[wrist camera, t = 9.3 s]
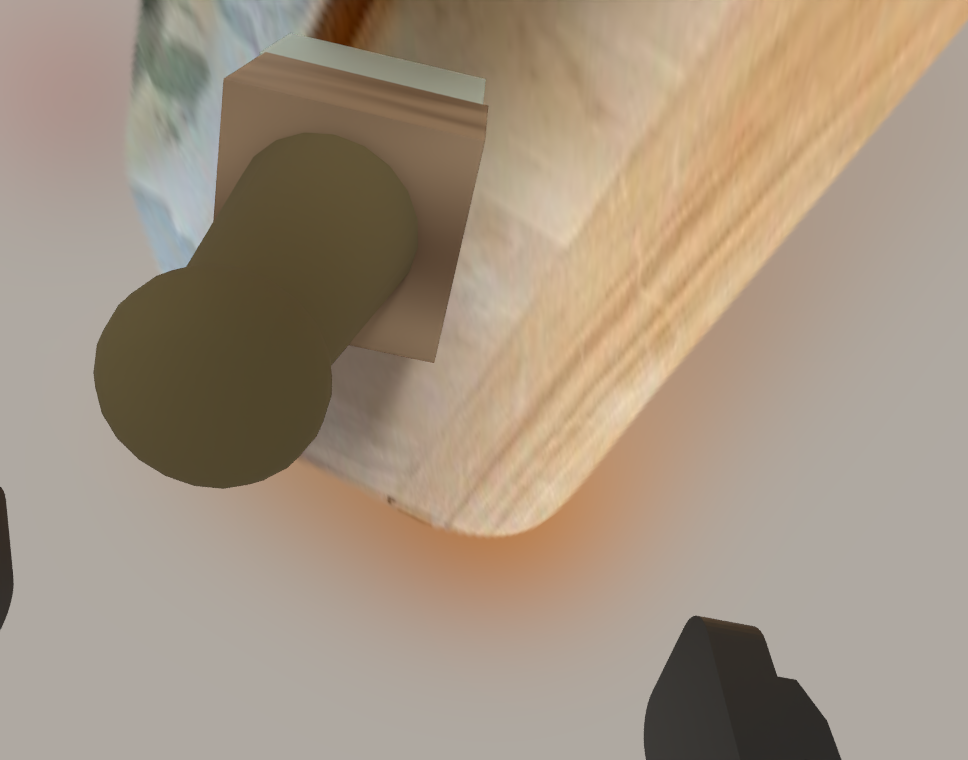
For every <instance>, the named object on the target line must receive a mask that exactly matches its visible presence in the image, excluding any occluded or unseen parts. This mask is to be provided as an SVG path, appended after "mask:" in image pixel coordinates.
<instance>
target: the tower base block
mask: <svg viewBox="0 0 968 760" xmlns="http://www.w3.org/2000/svg"><path fill="white" fill-rule="evenodd" d="M264 52H268V53H272V54H276V55H281V56H285V57H289V58H293V59H297V60H301V61H305V62H309V63H314V64H318V65H322V66H326V67H330V68H334V69H338V70H342V71H347V72H351V73H355V74H359V75H363V76H367V77H371V78H376V79H380V80H384V81H388V82H392V83H396V84H400V85H404V86H409V87H413V88H417V89H421V90H425V91H429V92H433V93H437V94H442V95H446V96H450V97H454V98H458V99H462V100H466V101H470V102H475V103H479V104H483V99H484V91H485V82H486V79H484V78H480V77H476V76H471V75H467V74H463V73H459V72H454V71H450V70H446V69H442V68H438V67H433V66H429V65H425V64H421V63H416V62H412V61H408V60H404V59H399V58H395V57H391V56H387V55H383V54H378V53H374V52H370V51H366V50H361V49H357V48H353V47H349V46H344V45H340V44H336V43H332V42H327V41H323V40H319V39H315V38H311V37H306V36H302V35H298V34H294V33H290V34H288V35H287V36H285V37H283V38H282V39H280V40H279V41H277V42H276V43H274V44H272V45H271V46H269V47H268V48H266V49H265V50H263V51H261V52H260V55H261V54H263V53H264ZM260 55H259V56H260Z"/></svg>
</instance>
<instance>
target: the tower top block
mask: <svg viewBox="0 0 968 760" xmlns="http://www.w3.org/2000/svg"><path fill="white" fill-rule="evenodd" d="M487 113H488V106H487V105H483V104H479V103H475V102H470V101H466V100H462V99H458V98H454V97H450V96H446V95H442V94H437V93H433V92H429V91H425V90H421V89H417V88H413V87H409V86H404V85H400V84H396V83H392V82H388V81H384V80H380V79H376V78H371V77H367V76H363V75H359V74H355V73H351V72H347V71H342V70H338V69H334V68H330V67H326V66H322V65H318V64H314V63H309V62H305V61H301V60H297V59H293V58H289V57H285V56H281V55H276V54H272V53H268V52H264V53H263V54H261V55H260V56H258V57H257V58H255V59H254V60H252V61H251V62H249V63H247V64H246V65H244V66H243V67H241V68H240V69H238V70H237V71H235V72H234V73H232V74H230V75H229V76H227V77H226V78H224V82H223V96H222V110H221V124H220V138H219V152H218V166H217V180H216V194H215V208H214V220H215V219H216V217H217V215H218V214H219V212H220V210H221V209H222V207H223V205H224V204H225V202H226V200H227V199H228V197H229V195H230V194H231V192H232V190H233V189H234V187H235V185H236V184H237V182H238V180H239V179H240V177H241V176H242V174H243V173H244V171H245V169H246V168H247V166H248V165H249V163H250V162H251V160H252V158H253V157H254V156H255V155H256V154H258V153H259V152H260V151H262V150H263V149H265V148H266V147H267V146H269V145H270V144H271V143H273V142H274V141H276V140H278V139H282V138H286V137H289V136H293V135H297V134H300V133H304V132H305V133H320V134H335V135H337V136H340V137H342V138H345V139H348V140H350V141H353V142H355V143H358V144H360V145H363V146H365V147H366V148H367V149H369V150H370V151H371V152H373V153H374V154H375V155H376V156H378V157H379V158H380V159H382V160H383V161H384V162H385V163H387V164H388V165H389V166H390V167H391V168H392V170H393V171H394V172H395V174H396V175H397V177H398V178H399V179H400V181H401V182H402V184H403V185H404V186H405V188H406V189H407V191H408V193H409V196H410V198H411V201H412V204H413V207H414V210H415V213H416V216H417V219H418V248H417V251H416V254H415V257H414V260H413V263H412V266H411V268H410V271H409V273H408V274H407V275H406V277H405V278H404V279H403V280H402V281H401V283H400V284H399V285H398V286H397V288H396V289H395V290H394V291H393V292H392V294H391V295H390V296H389V297H388V298H387V300H386V301H385V302H384V303H383V304H382V306H381V307H380V308H379V309H378V310H377V311H376V313H375V314H374V315H373V316H372V317H371V319H370V320H369V321H368V322H367V323H366V325H365V326H364V327H363V328H362V329H361V331H360V332H359V333H358V334H357V335H356V337H355V338H354V339H353V340H352V341H351V342H350V344H349V345H351V346H356V347H361V348H366V349H370V350H375V351H380V352H384V353H389V354H394V355H399V356H403V357H408V358H413V359H417V360H422V361H427V362H432V363H434V361H435V357H436V352H437V348H438V344H439V339H440V335H441V331H442V326H443V322H444V318H445V313H446V309H447V304H448V300H449V296H450V291H451V287H452V283H453V278H454V274H455V269H456V265H457V261H458V256H459V252H460V248H461V243H462V239H463V235H464V230H465V226H466V221H467V217H468V213H469V208H470V204H471V200H472V195H473V191H474V187H475V182H476V178H477V173H478V169H479V165H480V160H481V156H482V152H483V147H484V143H485V135H486V124H487Z"/></svg>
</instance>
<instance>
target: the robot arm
mask: <svg viewBox="0 0 968 760" xmlns="http://www.w3.org/2000/svg"><path fill="white" fill-rule="evenodd" d="M12 594H13V569H12V560H11V549H10V539H9V528H8V518H7V508H6V499H5V494H4V491H3V490H2V488H1V487H0V629H1V627H2V625H3V623H4V621H5V618H6V616H7V613H8V610H9V607H10V603H11V599H12ZM644 748H645V756H646V760H841V758H840V755H839V753H838V749H837V747H836V744H835V741H834V738H833V736H832V733H831V730H830V728H829V725H828V722H827V720H826V719H825V718H824V716H823V715H822V714H821V712H820V711H819V710H818V708H817V707H816V706H815V704H814V703H813V702H812V700H811V699H810V698H809V696H808V695H807V694H806V692H805V691H804V690H803V688H802V687H801V686H800V685H799V683H798V682H797V680H794V679H788V678H782V677H777V674H776V671H775V668H774V665H773V662H772V659H771V656H770V653H769V650H768V647H767V644H766V641H765V638H764V636H763V634H762V633H761V631H760V630H759V629H758V628H756V627H755V626H749V625H744V624H739V623H733V622H728V621H722V620H717V619H711V618H706V617H700V616H693V617H691V618H690V619H689V620H688V622H687V623H686V625H685V627H684V628H683V631H682V633H681V635H680V637H679V639H678V641H677V643H676V645H675V647H674V649H673V651H672V653H671V655H670V657H669V659H668V661H667V663H666V665H665V667H664V669H663V671H662V673H661V675H660V677H659V680H658V681H657V684H656V686H655V687H654V689H653V692H652V694H651V696H650V699H649V702H648V706H647V710H646V715H645V723H644Z"/></svg>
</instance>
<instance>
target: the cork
mask: <svg viewBox="0 0 968 760" xmlns="http://www.w3.org/2000/svg"><path fill="white" fill-rule="evenodd" d="M417 248H418V219H417V216H416V213H415V210H414V207H413V204H412V201H411V198H410V196H409V193H408V191H407V189H406V188H405V186H404V185H403V184H402V182H401V181H400V179H399V178H398V177H397V175H396V174H395V172H394V171H393V170H392V168H391V167H390V166H389V165H388V164H387V163H385V162H384V161H383V160H382V159H380V158H379V157H378V156H376V155H375V154H374V153H373V152H371V151H370V150H369V149H367V148H366V147H365V146H363V145H360V144H358V143H355V142H353V141H350V140H348V139H345V138H342V137H340V136H337V135H335V134H320V133H305V132H304V133H300V134H297V135H293V136H289V137H286V138H282V139H278V140H276V141H274V142H273V143H271V144H270V145H269V146H267V147H266V148H265V149H263V150H262V151H260V152H259V153H258V154H256V155H255V156H254V157H253V158H252V160H251V162H250V163H249V165H248V166H247V168H246V169H245V171H244V173H243V174H242V176H241V177H240V179H239V180H238V182H237V184H236V185H235V187H234V189H233V190H232V192H231V194H230V195H229V197H228V199H227V200H226V202H225V204H224V205H223V207H222V209H221V210H220V212H219V214H218V215H217V217H216V219H215V220H214V222H213V224H212V225H211V227H210V229H209V230H208V232H207V233H206V235H205V237H204V238H203V240H202V242H201V243H200V245H199V247H198V248H197V250H196V252H195V253H194V255H193V257H192V258H191V260H190V262H189V263H188V265H187V267H184V268H180V269H176V270H172V271H169V272H166V273H164V274H161V275H158V276H156V277H154V278H153V279H151V280H150V281H149V282H147V283H146V284H145V285H143V286H141V287H140V288H138V289H137V290H136V291H134V292H133V293H131V294H130V295H129V296H128V297H127V298H126V299H125V300H124V301H123V302H121V303H120V304H119V305H118V307H117V308H116V310H115V312H114V313H113V315H112V317H111V318H110V320H109V322H108V324H107V325H106V327H105V328H104V330H103V332H102V335H101V337H100V339H99V341H98V344H97V348H96V357H95V365H94V381H95V388H96V392H97V395H98V400H99V403H100V407H101V412H102V414H103V416H104V418H105V419H106V421H107V422H108V424H109V426H110V427H111V429H112V431H113V432H114V434H115V436H116V437H117V438H118V440H120V441H121V442H122V443H123V444H124V445H125V446H126V447H127V448H128V449H129V450H130V451H131V452H132V453H133V454H134V455H135V456H136V457H137V458H138V459H139V460H141V461H142V462H144V463H145V464H147V465H149V466H150V467H152V468H154V469H155V470H157V471H159V472H160V473H162V474H163V475H165V476H168V477H171V478H173V479H176V480H179V481H182V482H185V483H188V484H191V485H194V486H202V487H212V488H230V487H236V486H242V485H248V484H252V483H255V482H259V481H262V480H265V479H267V478H268V477H270V476H272V475H274V474H276V473H278V472H280V471H282V470H284V469H286V468H287V467H289V466H290V464H292V463H293V462H294V461H295V460H296V459H297V458H298V457H299V456H300V455H301V454H302V452H303V451H304V450H305V449H306V448H307V447H308V446H309V444H310V443H311V442H312V441H313V440H314V439H315V437H316V436H317V434H318V432H319V430H320V427H321V425H322V423H323V420H324V417H325V414H326V411H327V408H328V405H329V401H330V398H331V394H332V374H331V365H332V364H333V363H334V362H335V360H336V359H337V358H338V357H339V356H340V354H341V353H342V352H343V351H344V350H345V348H346V347H347V346H348V345H349V344H350V342H351V341H352V340H353V339H354V338H355V337H356V335H357V334H358V333H359V332H360V331H361V329H362V328H363V327H364V326H365V325H366V323H367V322H368V321H369V320H370V319H371V317H372V316H373V315H374V314H375V313H376V311H377V310H378V309H379V308H380V307H381V306H382V304H383V303H384V302H385V301H386V300H387V298H388V297H389V296H390V295H391V294H392V292H393V291H394V290H395V289H396V288H397V286H398V285H399V284H400V283H401V281H402V280H403V279H404V278H405V277H406V275H407V274H408V273H409V271H410V268H411V266H412V263H413V260H414V257H415V254H416V251H417Z"/></svg>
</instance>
